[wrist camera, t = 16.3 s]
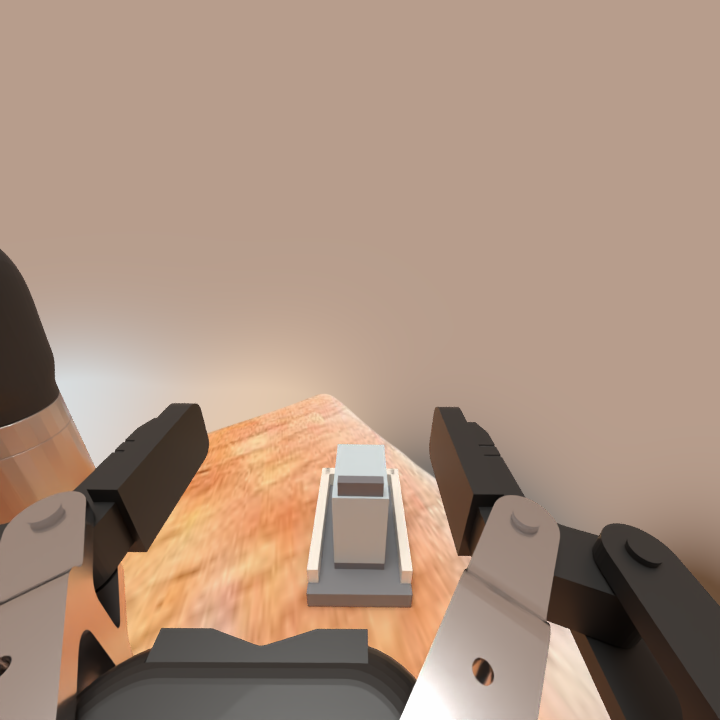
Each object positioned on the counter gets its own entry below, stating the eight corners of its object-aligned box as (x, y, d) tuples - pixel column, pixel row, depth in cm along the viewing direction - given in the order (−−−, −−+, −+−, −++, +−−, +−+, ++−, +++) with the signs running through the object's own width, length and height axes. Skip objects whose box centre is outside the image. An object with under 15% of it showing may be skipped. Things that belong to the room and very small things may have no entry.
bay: (308, 582, 30) (306, 569, 29) (323, 479, 41) (322, 467, 41) (410, 583, 30) (412, 570, 29) (396, 479, 41) (397, 468, 41)
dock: (307, 606, 30) (306, 593, 29) (323, 489, 42) (323, 479, 41) (410, 607, 30) (412, 594, 29) (395, 490, 42) (396, 479, 41)
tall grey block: (334, 568, 31) (331, 484, 26) (339, 509, 37) (337, 432, 32) (383, 569, 31) (390, 485, 26) (380, 509, 37) (384, 433, 32)
